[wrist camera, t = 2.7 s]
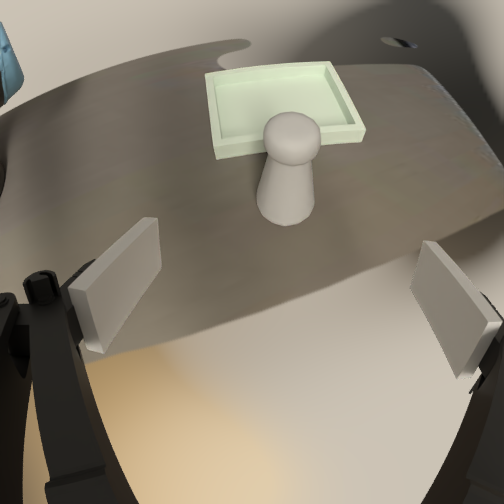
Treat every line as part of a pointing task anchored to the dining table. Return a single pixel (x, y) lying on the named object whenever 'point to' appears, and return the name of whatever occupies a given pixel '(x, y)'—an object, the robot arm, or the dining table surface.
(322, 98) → the tray
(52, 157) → the dining table surface
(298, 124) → the salt shaker
